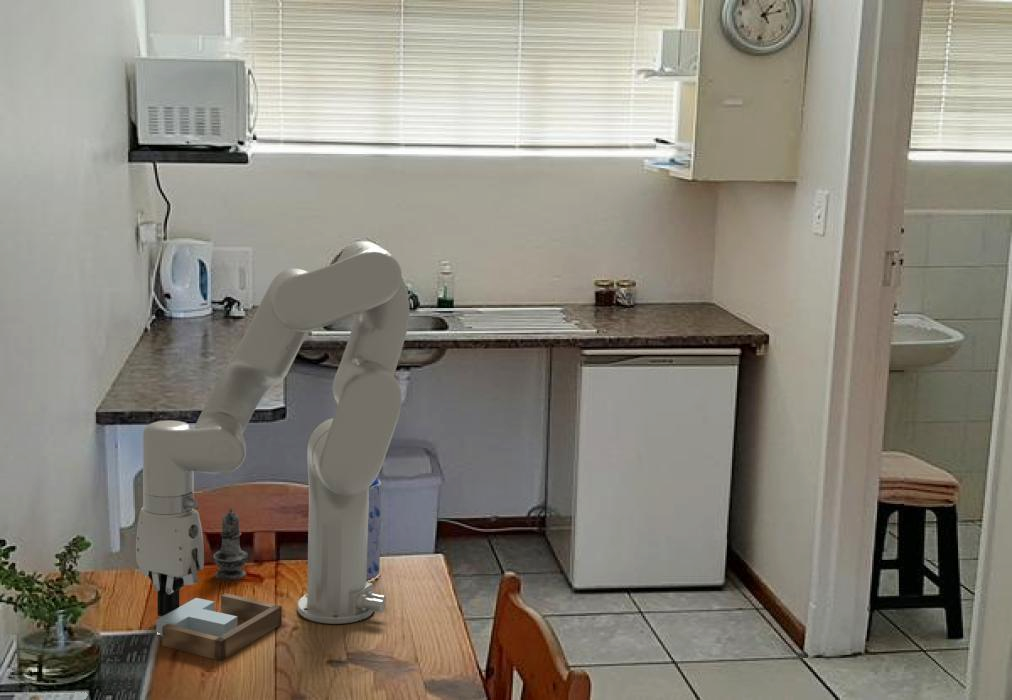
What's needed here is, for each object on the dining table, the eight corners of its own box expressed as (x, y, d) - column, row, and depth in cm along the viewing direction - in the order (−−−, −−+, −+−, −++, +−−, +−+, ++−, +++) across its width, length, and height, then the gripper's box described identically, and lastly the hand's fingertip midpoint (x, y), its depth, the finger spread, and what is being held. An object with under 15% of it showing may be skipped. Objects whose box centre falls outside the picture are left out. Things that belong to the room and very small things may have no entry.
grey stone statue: (250, 569, 217) (250, 503, 215) (244, 581, 211) (245, 514, 209) (216, 568, 217) (216, 502, 214) (210, 580, 211) (210, 513, 209)
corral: (162, 645, 184) (162, 626, 184) (225, 610, 198) (225, 593, 198) (220, 660, 180) (220, 641, 180) (281, 624, 194) (281, 606, 193)
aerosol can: (386, 570, 219) (389, 461, 215) (371, 586, 211) (374, 473, 208) (345, 564, 221) (347, 457, 217) (328, 580, 213) (330, 468, 210)
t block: (156, 635, 188) (156, 619, 187) (196, 612, 197) (196, 597, 197) (211, 648, 184) (211, 632, 184) (249, 624, 193) (249, 609, 193)
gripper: (223, 503, 190) (222, 616, 193) (146, 487, 196) (147, 596, 199) (191, 516, 183) (191, 632, 187) (113, 499, 189) (114, 612, 193)
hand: (168, 613), depth 193 cm, fingers closed
